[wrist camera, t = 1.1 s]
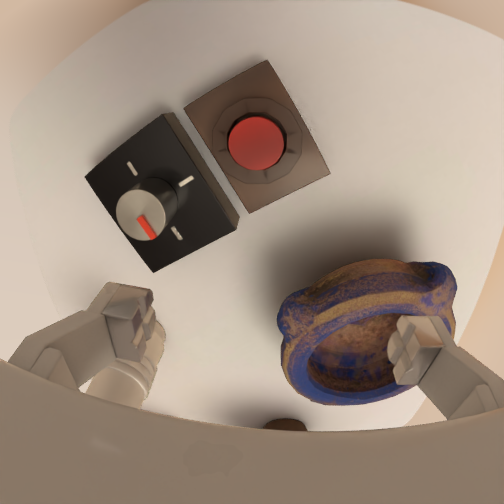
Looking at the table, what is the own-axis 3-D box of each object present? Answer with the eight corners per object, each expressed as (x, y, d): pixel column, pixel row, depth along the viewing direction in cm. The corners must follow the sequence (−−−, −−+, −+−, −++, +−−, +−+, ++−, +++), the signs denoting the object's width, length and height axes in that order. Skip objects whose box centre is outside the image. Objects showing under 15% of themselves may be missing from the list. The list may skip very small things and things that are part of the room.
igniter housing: (189, 107, 25) (176, 109, 21) (267, 62, 23) (266, 56, 19) (250, 205, 29) (247, 222, 26) (326, 167, 27) (334, 179, 23)
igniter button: (221, 131, 23) (218, 134, 21) (266, 106, 21) (266, 107, 20) (247, 174, 24) (245, 179, 23) (292, 151, 23) (293, 154, 21)
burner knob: (124, 193, 26) (104, 208, 23) (159, 168, 25) (142, 180, 21) (150, 231, 28) (135, 250, 24) (187, 209, 26) (175, 227, 23)
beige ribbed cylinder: (128, 302, 36) (77, 394, 23) (176, 328, 38) (141, 428, 24) (115, 332, 39) (72, 417, 26) (158, 355, 40) (126, 445, 27)
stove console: (98, 168, 28) (83, 177, 25) (173, 111, 25) (161, 114, 22) (162, 258, 33) (152, 274, 30) (240, 217, 30) (236, 230, 27)
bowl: (292, 365, 39) (294, 427, 31) (266, 249, 31) (262, 313, 23) (418, 340, 37) (441, 396, 28) (430, 220, 28) (478, 270, 20)
